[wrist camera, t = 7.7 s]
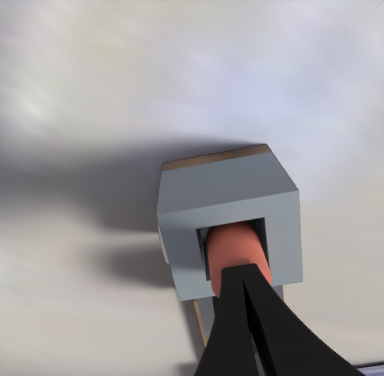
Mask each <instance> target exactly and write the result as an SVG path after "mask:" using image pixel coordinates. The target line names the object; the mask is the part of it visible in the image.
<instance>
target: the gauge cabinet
mask: <svg viewBox="0 0 384 376" xmlns="http://www.w3.org/2000/svg"><path fill="white" fill-rule="evenodd" d="M156 217H157V221H158V230H159V237H160V243H161V247H162V252H163V255H164V258H165V261H166V262H167V263H168V264H169V265H170V268H171V272H172V276H173V279H174V283H175V287H176V290H177V294H178V298H179V301H186V300H192V299H198V298H204V297H210V296H216V295H215V293H214V292H213V290H212V287H211V278H210V270H209V261H208V253H207V244H206V234H207V231H208V229H209V228H210V226H215V225H221V224H227V223H233V222H238V221H244V220H248V221H249V222H250V223H252V225H253V226H254V228H255V230H256V233H257V236H258V239H259V241H260V244H261V247H262V250H263V253H264V255H265V258H266V261H267V264H268V267H269V269H270V272H271V276H272V282H271V286H272V287H273V286H279V285H285V284H292V283H298V282H303V273H302V249H301V226H300V202H299V190H298V188H297V187H296V185H295V184H294V182H293V181H292V180H291V178H290V177H289V175H288V174H287V172H286V171H285V169H284V168H283V167H282V165H281V164H280V162H279V161H278V159H277V158H276V157H275V155H274V154H273V152H267V153H261V154H256V155H250V156H245V157H239V158H234V159H228V160H223V161H217V162H212V163H206V164H201V165H195V166H190V167H184V168H179V169H173V170H168V171H162V172H161V179H160V187H159V195H158V203H157V212H156Z"/></svg>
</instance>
